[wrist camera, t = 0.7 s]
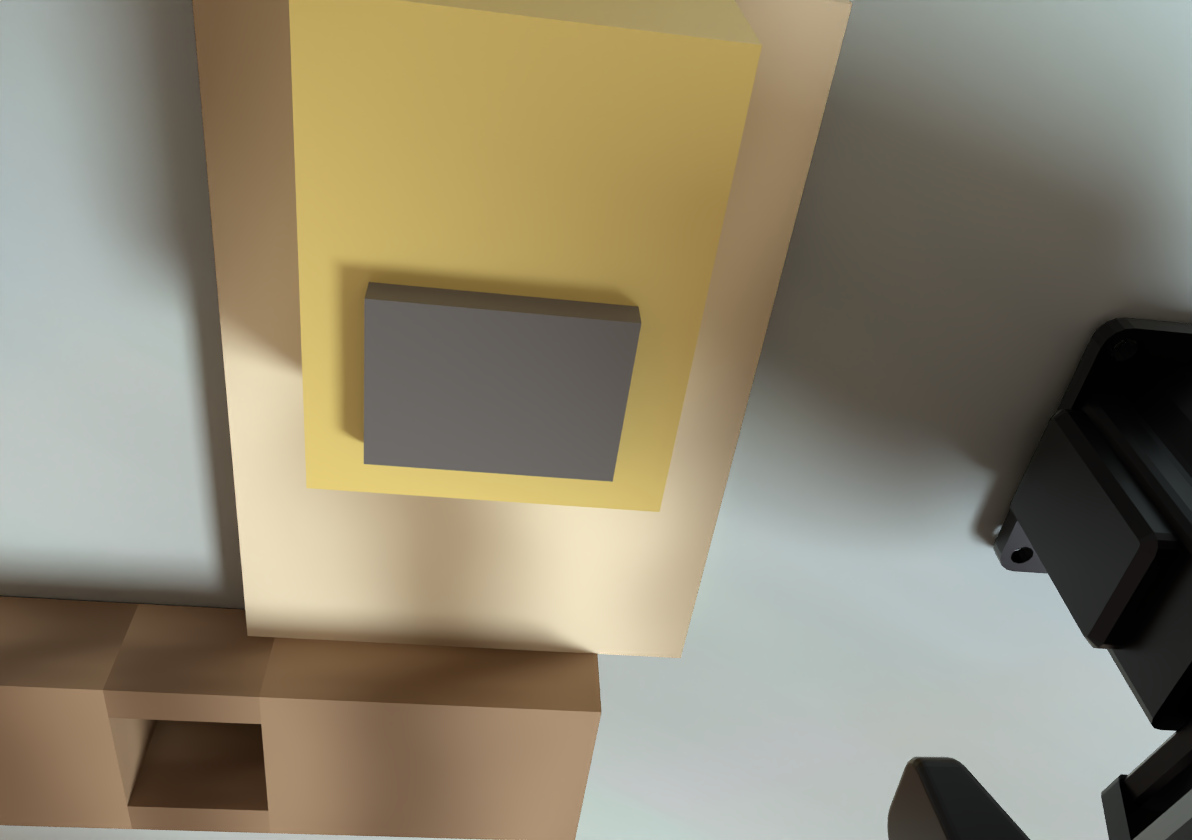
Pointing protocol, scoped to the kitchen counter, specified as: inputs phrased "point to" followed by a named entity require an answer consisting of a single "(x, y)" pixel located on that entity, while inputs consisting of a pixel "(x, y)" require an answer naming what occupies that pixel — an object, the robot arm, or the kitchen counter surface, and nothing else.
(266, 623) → the subfloor panel
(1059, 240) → the kitchen counter surface
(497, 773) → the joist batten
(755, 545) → the kitchen counter surface
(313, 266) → the block
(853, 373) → the kitchen counter surface
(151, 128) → the kitchen counter surface
